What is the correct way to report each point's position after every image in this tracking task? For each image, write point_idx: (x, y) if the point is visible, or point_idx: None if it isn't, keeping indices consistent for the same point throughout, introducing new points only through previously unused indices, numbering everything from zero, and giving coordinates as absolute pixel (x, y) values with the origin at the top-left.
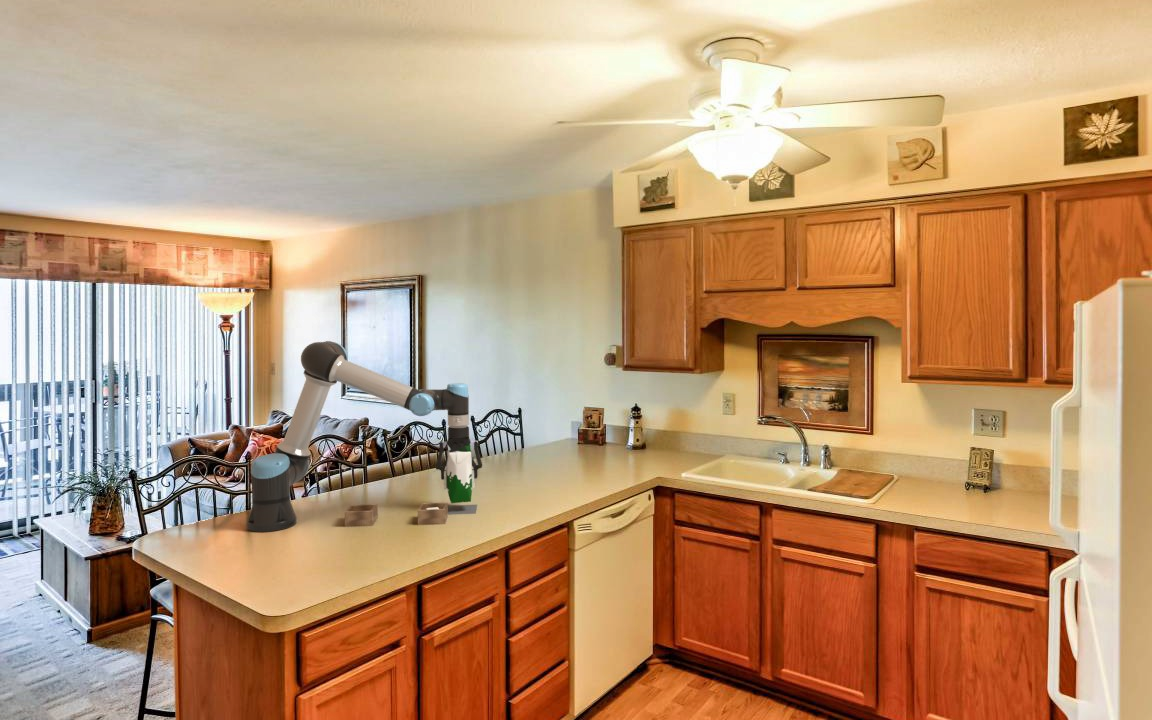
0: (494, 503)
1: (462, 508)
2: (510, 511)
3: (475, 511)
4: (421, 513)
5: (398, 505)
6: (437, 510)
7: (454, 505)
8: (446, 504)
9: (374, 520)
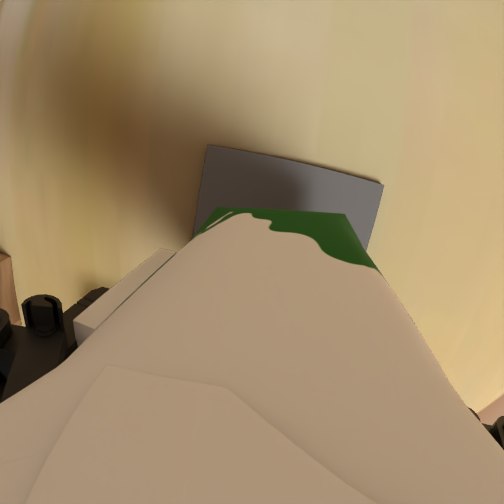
0: (462, 168)
1: None
2: (467, 320)
3: None
4: None
5: (42, 80)
6: None
7: (260, 158)
8: None
9: (9, 307)
